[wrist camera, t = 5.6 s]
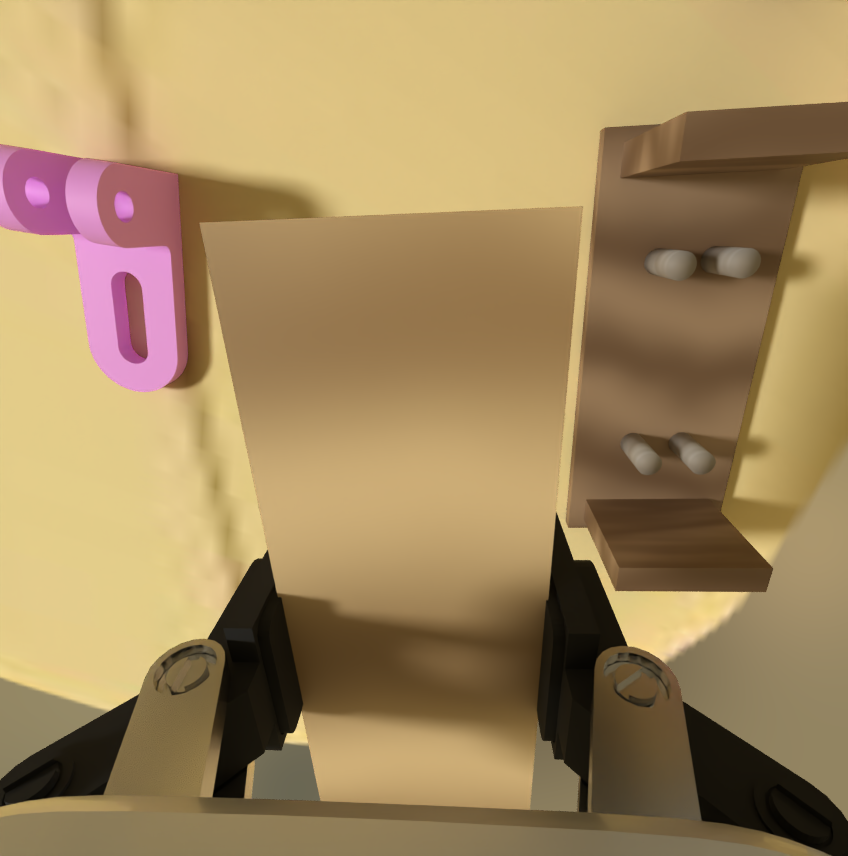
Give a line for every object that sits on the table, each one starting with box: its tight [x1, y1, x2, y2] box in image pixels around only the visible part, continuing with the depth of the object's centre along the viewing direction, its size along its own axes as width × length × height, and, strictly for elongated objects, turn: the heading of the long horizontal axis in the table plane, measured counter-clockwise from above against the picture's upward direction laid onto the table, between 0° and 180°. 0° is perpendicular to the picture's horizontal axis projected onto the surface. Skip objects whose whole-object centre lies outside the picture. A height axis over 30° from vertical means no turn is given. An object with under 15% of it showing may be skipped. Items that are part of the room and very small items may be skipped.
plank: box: [199, 206, 583, 810], centre depth 11 cm, size 16×5×4 cm, turn 2°
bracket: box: [0, 144, 188, 392], centre depth 26 cm, size 13×6×7 cm, turn 171°
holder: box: [566, 102, 848, 592], centre depth 25 cm, size 24×10×8 cm, turn 2°
